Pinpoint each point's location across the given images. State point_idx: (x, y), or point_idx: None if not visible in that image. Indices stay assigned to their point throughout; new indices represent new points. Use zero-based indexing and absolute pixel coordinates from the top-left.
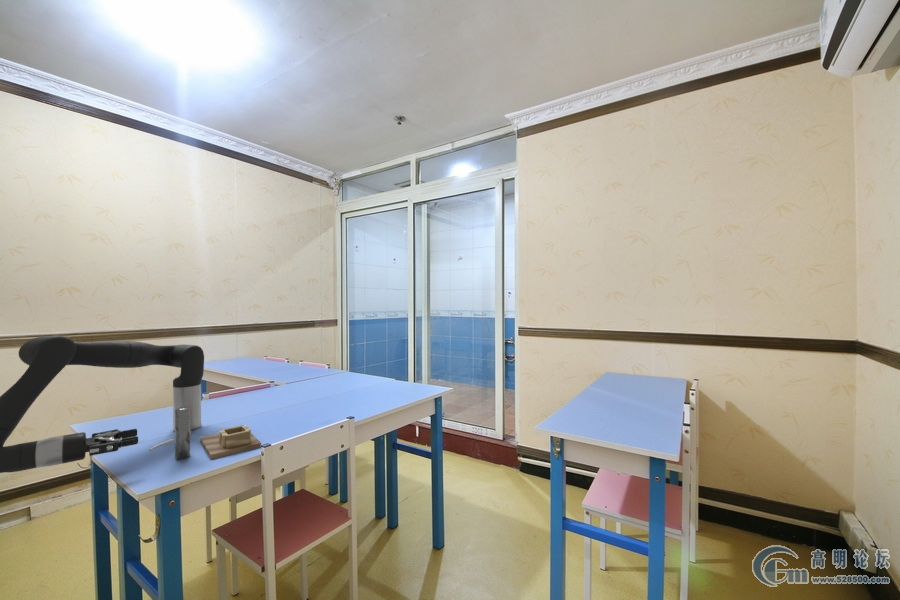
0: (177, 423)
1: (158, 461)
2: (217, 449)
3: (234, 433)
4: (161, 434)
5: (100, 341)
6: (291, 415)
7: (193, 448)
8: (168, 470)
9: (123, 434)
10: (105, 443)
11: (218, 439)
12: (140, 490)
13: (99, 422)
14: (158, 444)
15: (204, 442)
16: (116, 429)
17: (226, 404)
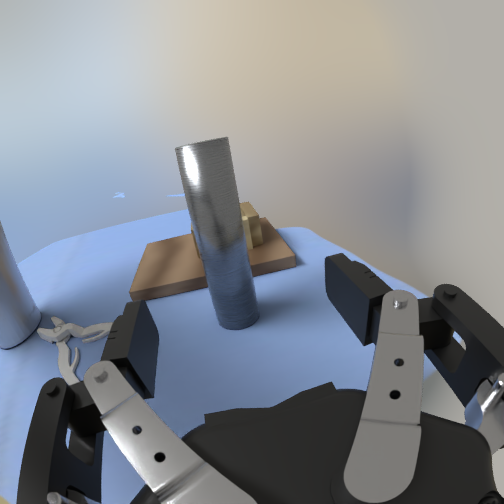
0: (231, 195)
1: (233, 366)
2: (262, 252)
3: (246, 211)
4: (4, 368)
5: None
6: (129, 225)
7: (177, 307)
8: (339, 321)
9: (140, 367)
10: (481, 336)
11: (183, 263)
12: None
13: None
14: (67, 376)
15: (182, 279)
16: (50, 383)
17: None
